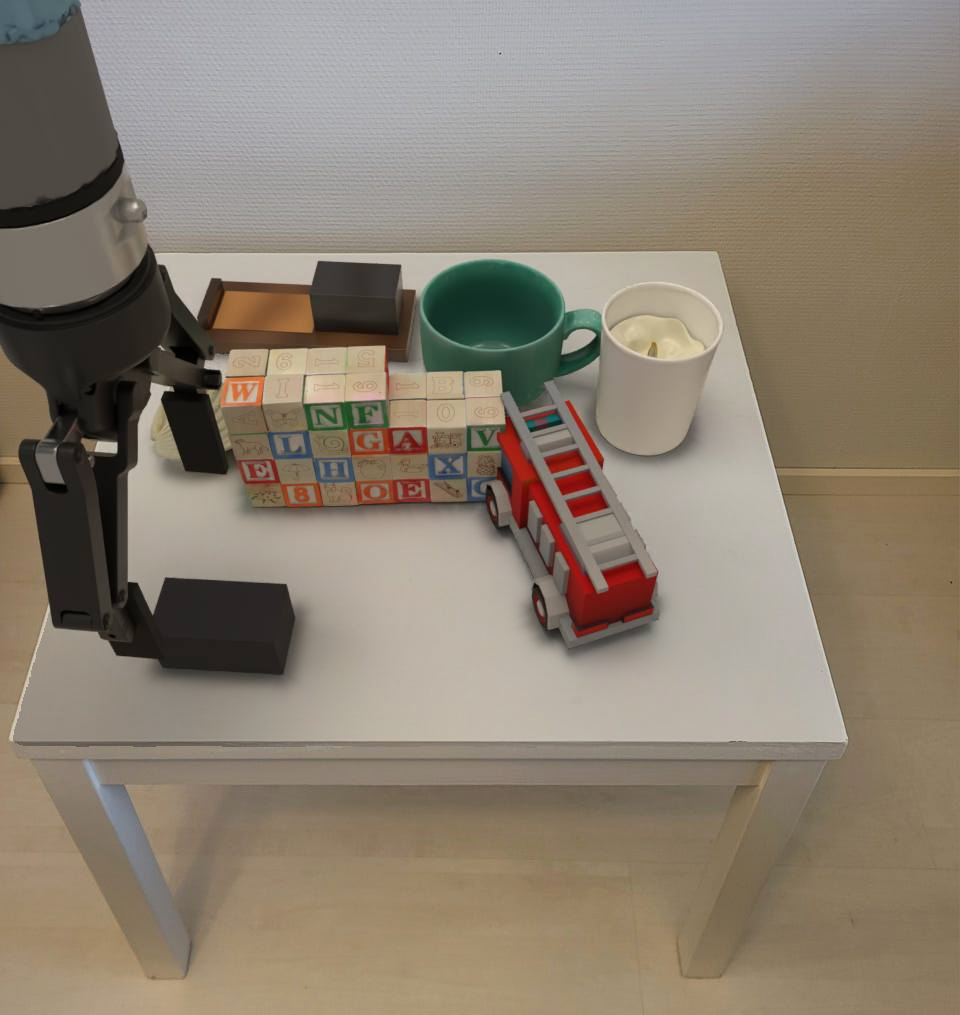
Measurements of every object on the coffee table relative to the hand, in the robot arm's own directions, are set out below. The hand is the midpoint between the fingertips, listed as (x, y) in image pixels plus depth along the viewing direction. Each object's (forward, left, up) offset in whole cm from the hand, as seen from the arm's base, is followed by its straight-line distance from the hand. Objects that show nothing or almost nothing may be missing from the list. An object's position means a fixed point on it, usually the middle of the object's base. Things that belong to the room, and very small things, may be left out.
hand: (177, 554), depth 58 cm
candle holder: (+31, +28, -16) cm, 45 cm away
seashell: (-7, +22, -16) cm, 28 cm away
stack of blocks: (+8, +20, -16) cm, 27 cm away
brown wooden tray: (-1, +39, -16) cm, 42 cm away
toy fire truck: (+25, +13, -16) cm, 32 cm away
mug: (+19, +32, -16) cm, 41 cm away
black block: (-1, +3, -16) cm, 16 cm away
